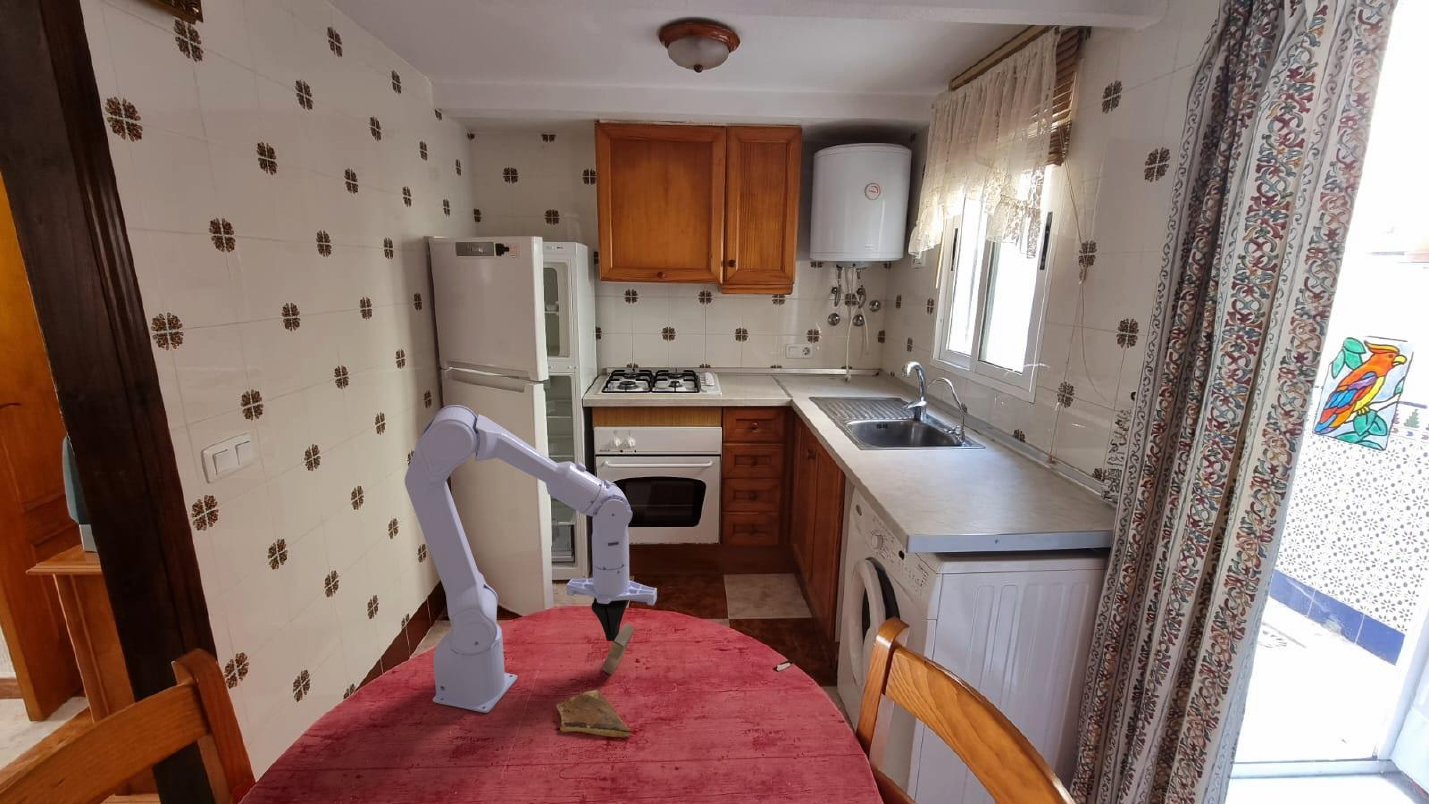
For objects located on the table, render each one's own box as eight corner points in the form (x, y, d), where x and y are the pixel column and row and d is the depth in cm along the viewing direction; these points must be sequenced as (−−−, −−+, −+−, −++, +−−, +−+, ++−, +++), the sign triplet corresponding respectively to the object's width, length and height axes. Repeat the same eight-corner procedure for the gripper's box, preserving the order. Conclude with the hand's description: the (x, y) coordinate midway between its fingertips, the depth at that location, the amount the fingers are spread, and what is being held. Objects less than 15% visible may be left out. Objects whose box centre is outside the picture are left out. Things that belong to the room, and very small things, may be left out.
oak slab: (601, 669, 92) (613, 640, 90) (614, 650, 97) (625, 622, 95) (611, 674, 92) (623, 646, 90) (623, 655, 96) (635, 627, 95)
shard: (631, 741, 79) (631, 730, 79) (579, 767, 75) (579, 755, 74) (598, 695, 88) (598, 685, 87) (550, 716, 83) (549, 705, 83)
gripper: (556, 568, 88) (560, 647, 91) (647, 578, 85) (648, 658, 88) (575, 548, 95) (578, 621, 97) (660, 556, 92) (660, 631, 95)
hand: (612, 637), depth 93 cm, fingers closed
